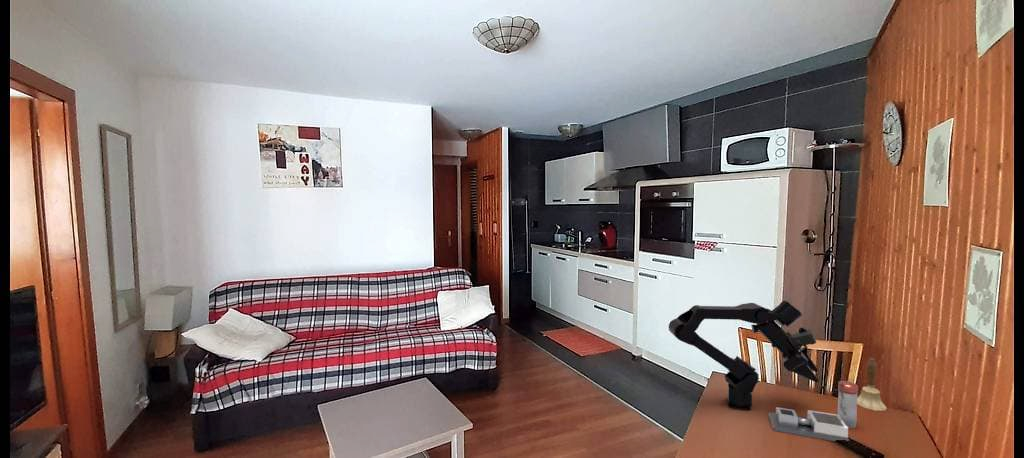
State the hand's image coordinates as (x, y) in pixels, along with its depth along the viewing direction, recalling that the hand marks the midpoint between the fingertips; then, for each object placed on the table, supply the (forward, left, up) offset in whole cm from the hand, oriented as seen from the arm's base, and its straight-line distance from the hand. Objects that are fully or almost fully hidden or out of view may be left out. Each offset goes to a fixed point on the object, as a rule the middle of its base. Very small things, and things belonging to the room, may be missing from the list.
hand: (817, 376), depth 128 cm
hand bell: (+18, +15, -13) cm, 27 cm away
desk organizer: (-5, -10, -13) cm, 17 cm away
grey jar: (+7, -2, -13) cm, 15 cm away
